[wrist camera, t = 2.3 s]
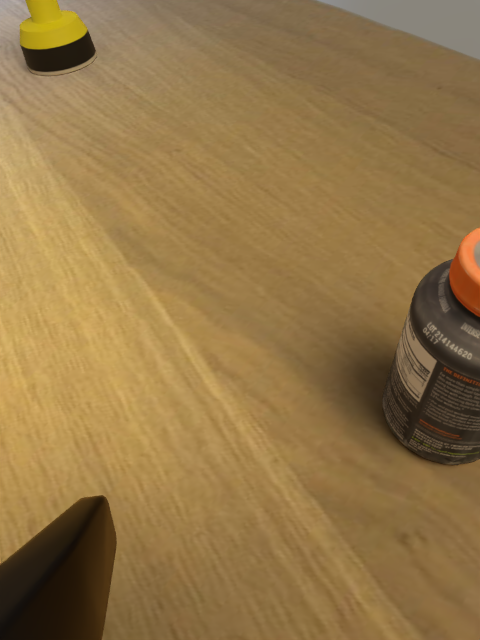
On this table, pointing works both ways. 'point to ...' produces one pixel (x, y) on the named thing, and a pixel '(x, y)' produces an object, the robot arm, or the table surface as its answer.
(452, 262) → the pill bottle
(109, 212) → the table surface
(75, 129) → the table surface
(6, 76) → the table surface
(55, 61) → the flashlight
